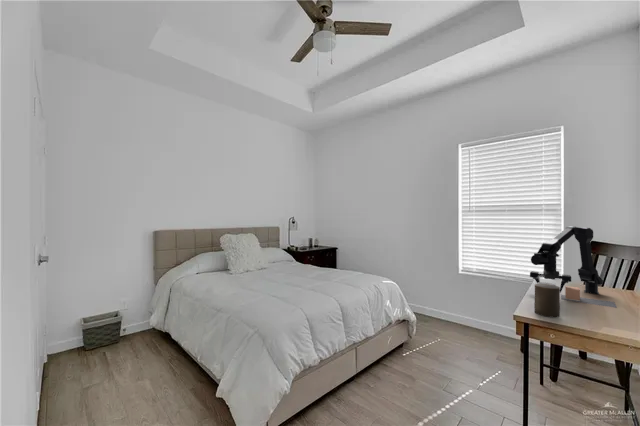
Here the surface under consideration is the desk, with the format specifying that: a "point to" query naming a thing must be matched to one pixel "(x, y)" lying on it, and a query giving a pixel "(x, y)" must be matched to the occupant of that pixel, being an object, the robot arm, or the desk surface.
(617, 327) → the desk surface
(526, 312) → the desk surface
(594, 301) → the mat
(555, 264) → the robot arm
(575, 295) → the cube
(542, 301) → the pillar candle
